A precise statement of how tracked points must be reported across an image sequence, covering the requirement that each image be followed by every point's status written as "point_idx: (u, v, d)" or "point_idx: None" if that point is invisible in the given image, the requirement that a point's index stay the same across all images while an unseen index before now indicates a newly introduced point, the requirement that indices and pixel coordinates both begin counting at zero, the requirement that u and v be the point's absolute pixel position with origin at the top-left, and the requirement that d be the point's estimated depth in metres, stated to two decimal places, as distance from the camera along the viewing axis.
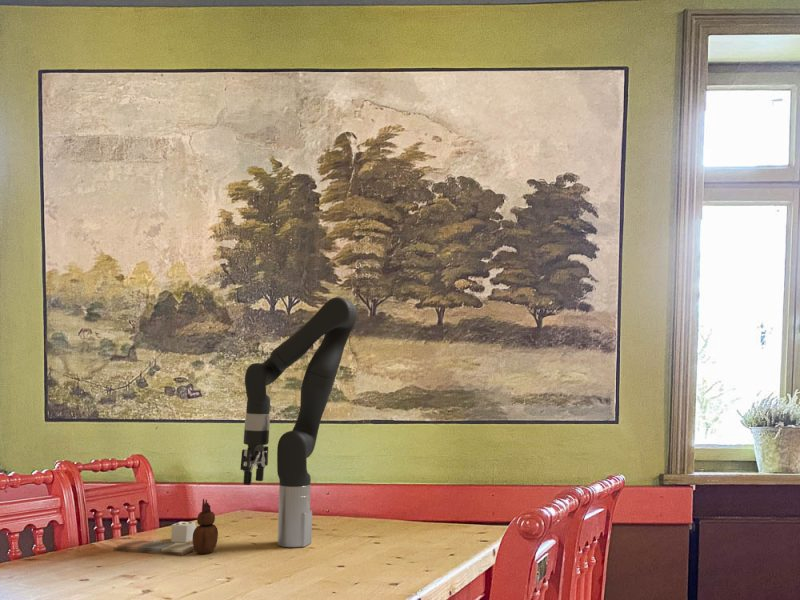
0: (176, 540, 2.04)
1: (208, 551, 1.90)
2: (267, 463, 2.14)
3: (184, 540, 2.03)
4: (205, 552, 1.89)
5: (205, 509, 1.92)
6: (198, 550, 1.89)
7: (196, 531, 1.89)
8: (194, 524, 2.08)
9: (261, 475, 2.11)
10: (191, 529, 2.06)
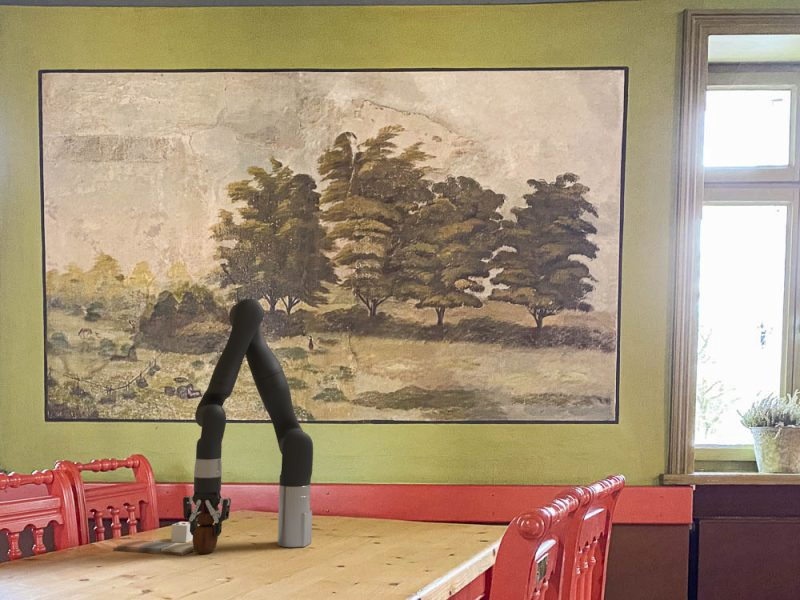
0: (176, 540, 2.04)
1: (208, 551, 1.90)
2: None
3: (184, 540, 2.03)
4: (205, 552, 1.89)
5: None
6: (198, 550, 1.89)
7: (196, 531, 1.89)
8: None
9: None
10: None
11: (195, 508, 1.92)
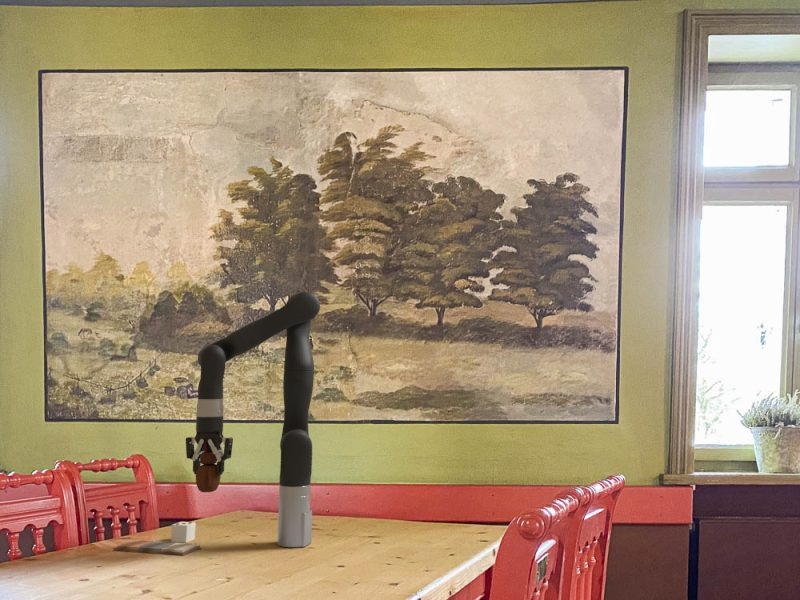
0: (176, 540, 2.04)
1: (211, 489, 1.92)
2: None
3: (184, 540, 2.03)
4: (208, 490, 1.91)
5: None
6: (201, 488, 1.91)
7: (199, 470, 1.91)
8: (194, 524, 2.08)
9: None
10: (191, 529, 2.06)
11: (198, 447, 1.94)
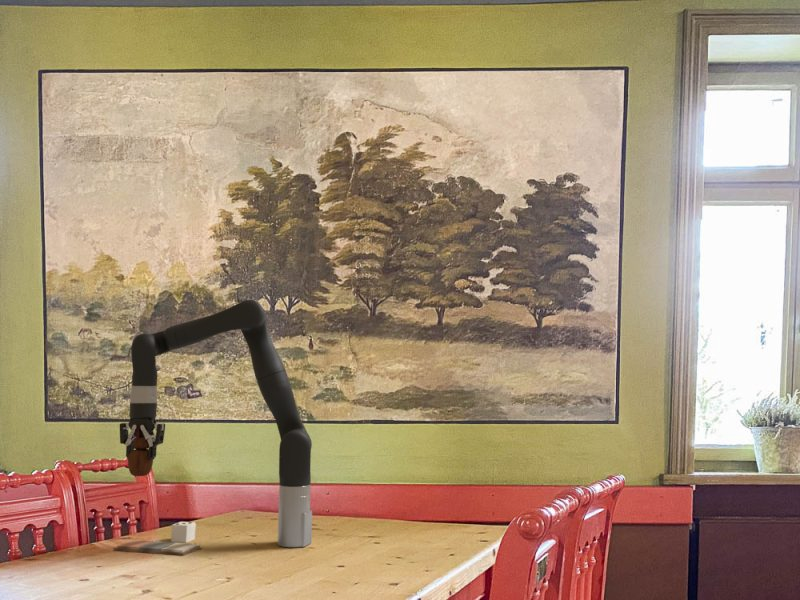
0: (176, 540, 2.04)
1: (143, 473, 1.97)
2: None
3: (184, 540, 2.03)
4: (140, 474, 1.97)
5: (140, 434, 1.99)
6: (133, 472, 1.96)
7: (131, 454, 1.97)
8: (194, 524, 2.08)
9: None
10: (191, 529, 2.06)
11: (131, 433, 1.99)
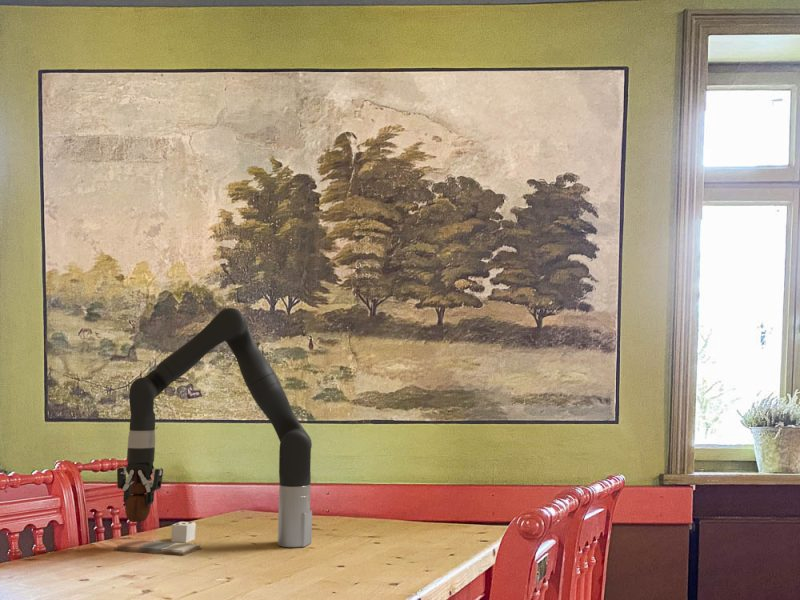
0: (176, 540, 2.04)
1: (140, 519, 1.96)
2: None
3: (184, 540, 2.03)
4: (137, 520, 1.95)
5: None
6: (130, 518, 1.95)
7: (128, 500, 1.95)
8: (194, 524, 2.08)
9: None
10: (191, 529, 2.06)
11: (128, 478, 1.98)
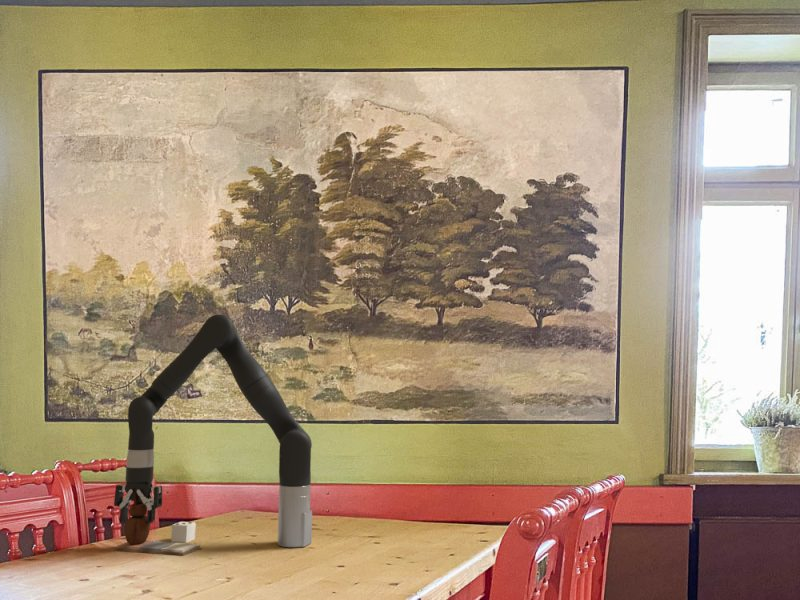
0: (176, 540, 2.04)
1: (139, 541, 1.95)
2: None
3: (184, 540, 2.03)
4: (136, 542, 1.94)
5: (137, 501, 1.97)
6: (129, 540, 1.94)
7: (128, 522, 1.95)
8: (194, 524, 2.08)
9: (127, 515, 1.99)
10: (191, 529, 2.06)
11: (126, 497, 1.97)
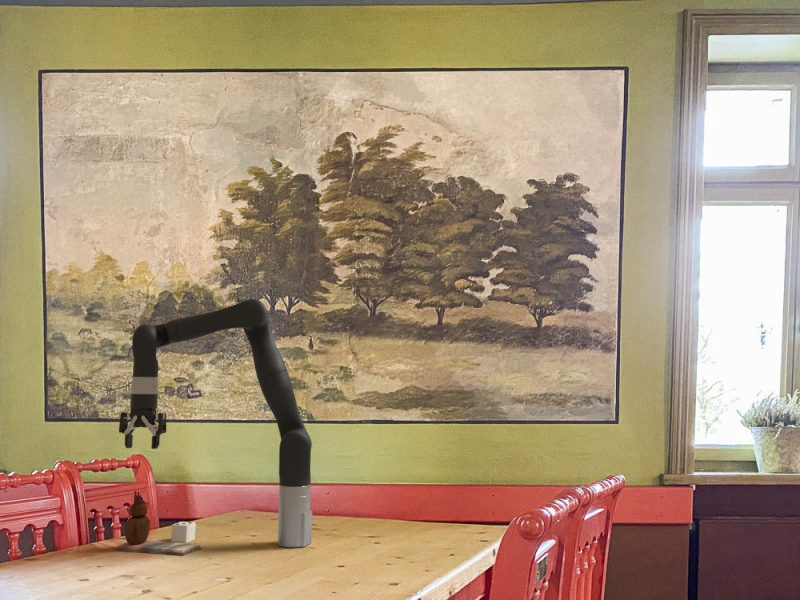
0: (176, 540, 2.04)
1: (139, 542, 1.95)
2: None
3: (184, 540, 2.03)
4: (136, 543, 1.94)
5: (137, 501, 1.97)
6: (129, 541, 1.94)
7: (128, 522, 1.95)
8: (194, 524, 2.08)
9: (131, 441, 2.02)
10: (191, 529, 2.06)
11: (131, 423, 2.00)
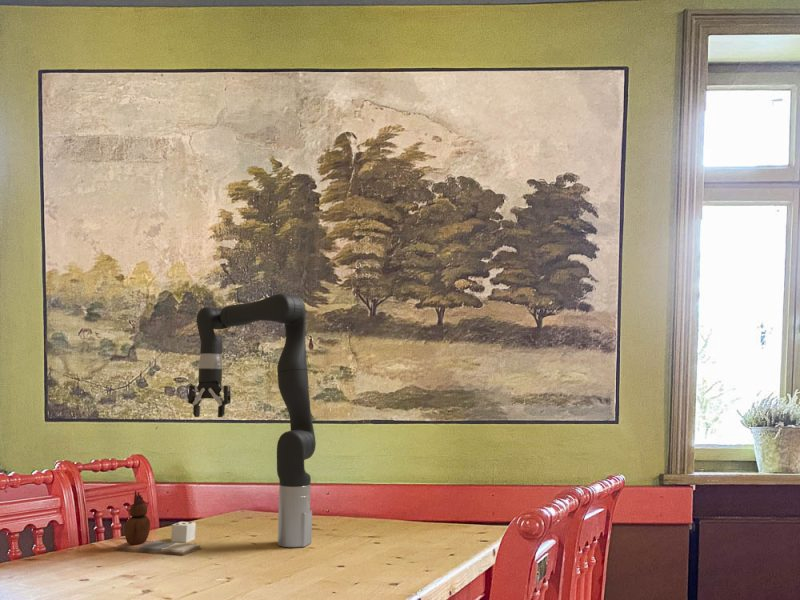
0: (176, 540, 2.04)
1: (139, 542, 1.95)
2: None
3: (184, 540, 2.03)
4: (136, 543, 1.94)
5: (137, 501, 1.97)
6: (129, 541, 1.94)
7: (128, 522, 1.95)
8: (194, 524, 2.08)
9: (199, 411, 2.26)
10: (191, 529, 2.06)
11: (199, 394, 2.24)
